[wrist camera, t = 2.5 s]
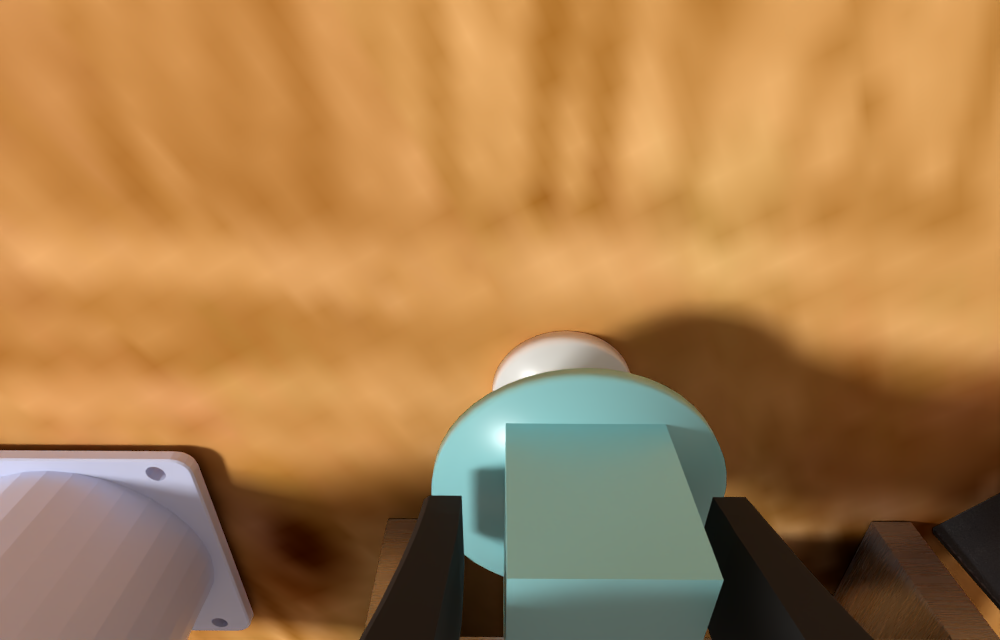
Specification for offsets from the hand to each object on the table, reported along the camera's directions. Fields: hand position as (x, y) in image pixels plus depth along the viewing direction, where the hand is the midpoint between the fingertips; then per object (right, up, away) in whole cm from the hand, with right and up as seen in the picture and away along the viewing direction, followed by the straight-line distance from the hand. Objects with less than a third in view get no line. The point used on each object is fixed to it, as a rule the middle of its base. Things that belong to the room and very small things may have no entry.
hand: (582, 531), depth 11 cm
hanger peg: (0, +2, +4) cm, 4 cm away
